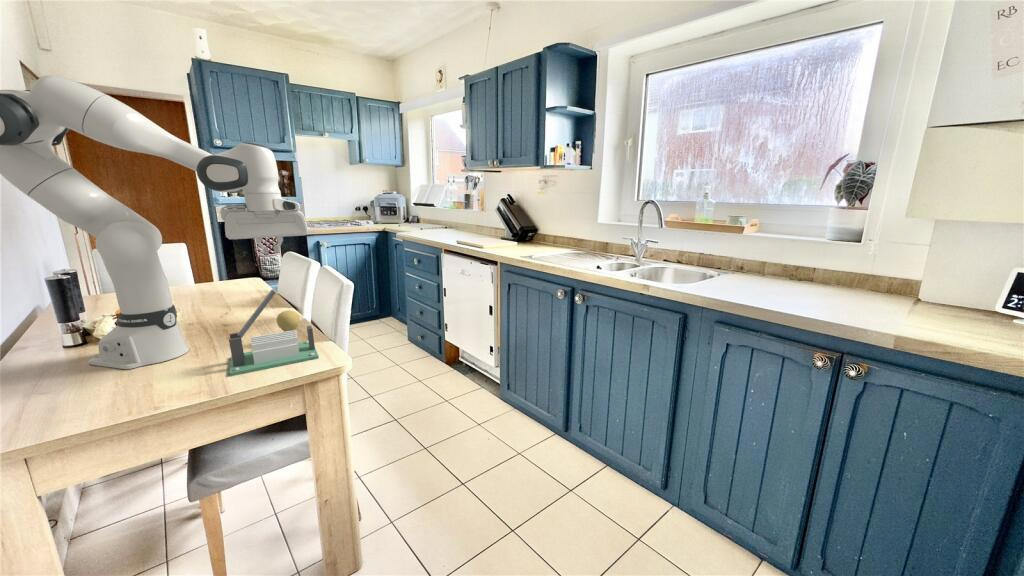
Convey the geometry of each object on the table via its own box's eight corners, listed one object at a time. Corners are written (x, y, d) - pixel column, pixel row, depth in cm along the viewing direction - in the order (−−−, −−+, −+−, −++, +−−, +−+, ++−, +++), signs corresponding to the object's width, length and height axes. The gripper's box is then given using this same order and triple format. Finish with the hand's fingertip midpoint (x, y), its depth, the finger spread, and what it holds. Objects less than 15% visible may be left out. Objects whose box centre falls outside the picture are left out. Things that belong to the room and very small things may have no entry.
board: (230, 376, 104) (224, 345, 102) (231, 357, 115) (226, 329, 113) (318, 358, 115) (315, 330, 113) (312, 342, 126) (309, 317, 124)
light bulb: (292, 345, 124) (288, 314, 122) (275, 343, 126) (270, 313, 123) (307, 338, 130) (303, 308, 128) (289, 336, 132) (285, 307, 129)
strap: (236, 345, 108) (232, 343, 107) (236, 341, 110) (232, 340, 110) (275, 293, 111) (272, 291, 110) (275, 290, 113) (271, 288, 112)
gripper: (218, 205, 105) (227, 257, 108) (305, 203, 115) (311, 251, 119) (219, 204, 110) (228, 254, 113) (302, 203, 121) (308, 248, 124)
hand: (271, 252), depth 116 cm, fingers closed
